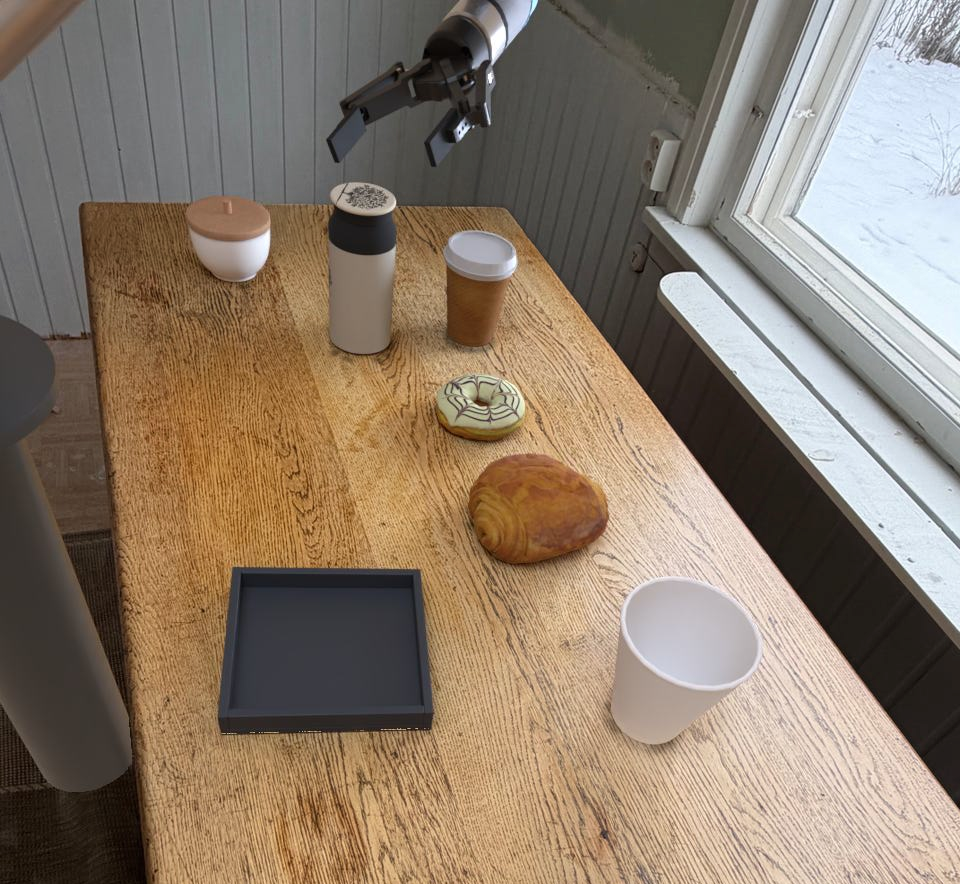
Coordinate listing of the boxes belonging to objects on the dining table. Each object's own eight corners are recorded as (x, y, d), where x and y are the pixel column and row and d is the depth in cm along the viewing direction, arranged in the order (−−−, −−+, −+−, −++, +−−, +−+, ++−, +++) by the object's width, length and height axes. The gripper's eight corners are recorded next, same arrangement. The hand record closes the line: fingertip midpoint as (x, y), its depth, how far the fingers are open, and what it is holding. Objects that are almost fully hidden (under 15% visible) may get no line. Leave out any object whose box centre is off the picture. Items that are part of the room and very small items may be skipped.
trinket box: (177, 265, 111) (166, 194, 103) (240, 244, 117) (234, 175, 109) (227, 299, 107) (219, 228, 100) (289, 276, 113) (286, 207, 106)
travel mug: (398, 332, 108) (407, 192, 94) (377, 362, 103) (384, 219, 89) (343, 316, 109) (343, 174, 95) (319, 345, 104) (316, 200, 90)
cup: (568, 739, 72) (604, 655, 62) (601, 645, 79) (638, 557, 69) (696, 789, 70) (753, 711, 61) (718, 688, 78) (772, 604, 68)
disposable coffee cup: (518, 338, 111) (534, 252, 102) (471, 361, 106) (484, 273, 97) (468, 307, 114) (479, 221, 105) (420, 328, 109) (428, 240, 100)
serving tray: (221, 735, 67) (217, 717, 65) (235, 586, 77) (232, 566, 75) (430, 730, 70) (433, 712, 68) (418, 587, 80) (420, 568, 78)
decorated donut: (427, 394, 100) (430, 367, 97) (509, 393, 103) (514, 367, 100) (443, 447, 94) (446, 421, 91) (530, 445, 97) (536, 418, 94)
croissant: (615, 565, 89) (645, 511, 83) (495, 585, 82) (520, 528, 76) (553, 479, 96) (577, 424, 90) (438, 491, 89) (456, 432, 83)
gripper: (560, 81, 97) (483, 190, 89) (390, 82, 107) (308, 180, 100) (549, 9, 91) (465, 120, 83) (370, 18, 101) (281, 117, 93)
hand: (379, 153), depth 91 cm, fingers open, 13 cm apart
